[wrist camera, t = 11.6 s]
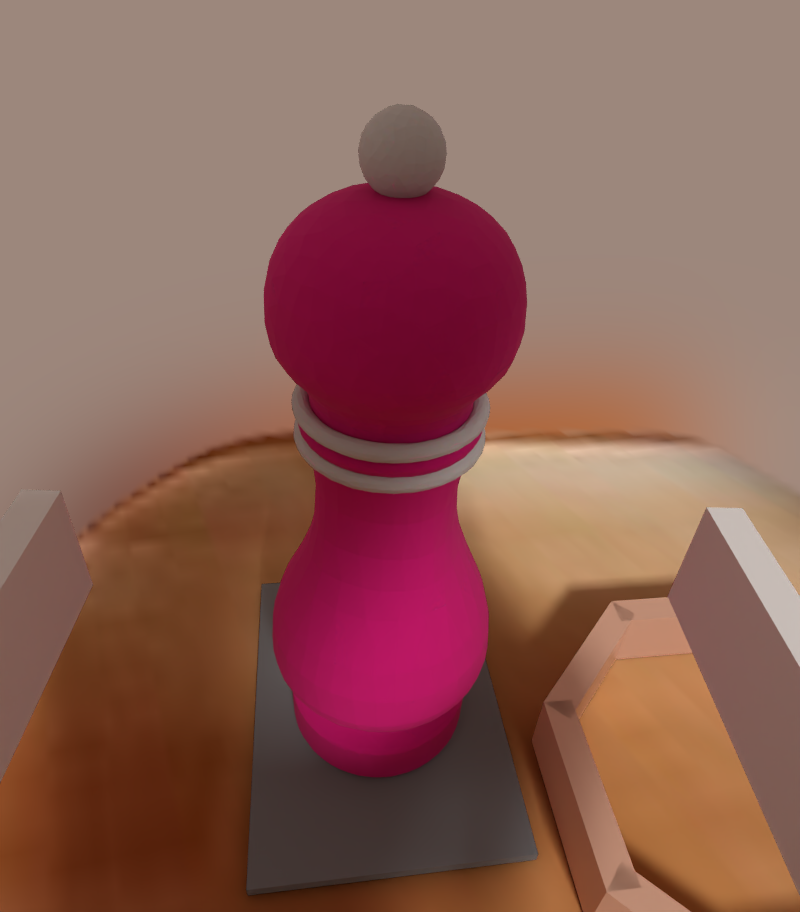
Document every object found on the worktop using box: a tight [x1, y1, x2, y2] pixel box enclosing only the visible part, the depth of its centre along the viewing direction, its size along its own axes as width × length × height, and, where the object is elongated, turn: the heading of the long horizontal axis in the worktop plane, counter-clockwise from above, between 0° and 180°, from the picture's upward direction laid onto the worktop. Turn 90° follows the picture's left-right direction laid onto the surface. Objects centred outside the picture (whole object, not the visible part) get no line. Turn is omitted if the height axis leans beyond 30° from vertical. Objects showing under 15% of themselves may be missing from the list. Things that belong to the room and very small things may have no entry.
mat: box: [246, 583, 538, 895], centre depth 25 cm, size 9×12×1 cm
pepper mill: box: [264, 104, 527, 777], centre depth 19 cm, size 7×7×20 cm
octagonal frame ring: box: [532, 597, 692, 912], centre depth 22 cm, size 14×14×2 cm
